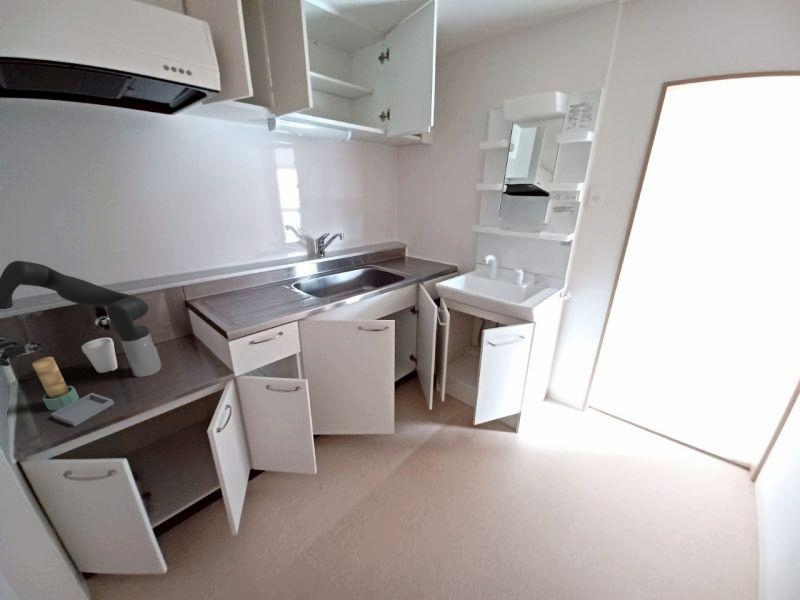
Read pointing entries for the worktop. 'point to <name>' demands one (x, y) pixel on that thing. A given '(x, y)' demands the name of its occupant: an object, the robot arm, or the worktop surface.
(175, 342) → the worktop surface
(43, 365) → the wooden dowel
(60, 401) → the holder pot
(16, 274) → the robot arm
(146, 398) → the worktop surface
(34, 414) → the worktop surface
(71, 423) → the tray
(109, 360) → the foam cup
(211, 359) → the worktop surface
